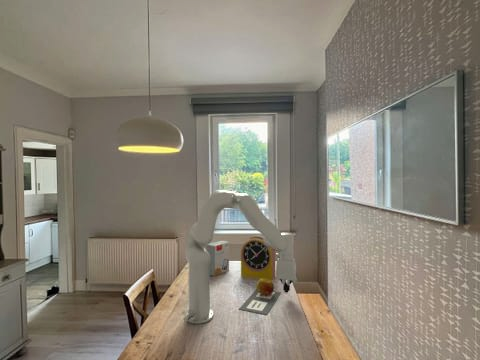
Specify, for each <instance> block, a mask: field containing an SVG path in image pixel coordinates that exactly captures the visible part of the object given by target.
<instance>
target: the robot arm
mask: <svg viewBox="0 0 480 360" xmlns="http://www.w3.org/2000/svg"><path fill="white" fill-rule="evenodd" d="M224 209H233V210H238V211H239V212H240V213H241V214H242V215H243V216H244V218H245V220H246V221H247V222H248V224H249V225H250V226H251V227H252V228H253V229H254V230H256V231H258V232H259V233H260V234H261V235H262V236H263V237H264V238H263V243H264V244H265V245H266V246H267V247H269V248H271V249H273V250H275V252H278V253H275V257H278V258H276V259H277V260H276V264H275V274H276V276H275V278H276V280H277V281H280V282H281V283H282V285H283V287H282V288H283V292H284V293H285V294H288V293H289V292H290V291H291V288H290V287H291V286H290V285H291V284H292V283H297V281H298V278H297V265H296V259H294V235H293V233H291V232H281V231H280V230H279V228H278V227H277V226H276V225H275V224H274V223H273V222H272V221H271V220H270V219H269V218H268V217H267V216H266V215H265V214H264V213H263V211H262V210H261V208H260V207H259V206H258V205H257V203H256V202H255V200H254V199H253V198H252V196H250V194H248V193H241V192H240V193H239V192H232V191H228V190H226V189H225V190H224V189H223V190H222V189H216V190H214V191H212V193H211V194H210V195H209V197H208V198H207V199H206V200H204V203H203V204H202V206H201V208H200V210H199V214H198V217H197V222H194V223H193V224H192V226H191V227H190V229H189V232H188V235H187V241H186V245H185V251H184V257H185V258H186V259H185V260H186V261H187V263H188V277H187V279H188V281H187V282H188V284H187V285H188V310H187V312H186V314H185V317H183V319H182V320H183V322H184V323H187V322H188V323H190V324H193V325H195V324H196V325H197V324H198V325H200V324H201V325H202V324H205V323H207V322H209V321H211V320H212V319H213V317H214V311H213V310H212V309H211V301H210V300H211V297H210V296H211V295H210V291H211V289H210V284H211V283H210V275H209V273H210V255H209V253H208V251H207V248H206V246H207V244H211V243H212V241H213V238H214V233H215V230H216V224H217V220H218V217H219V214H220V213H221V212H222V211H223V210H224Z"/></svg>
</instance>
